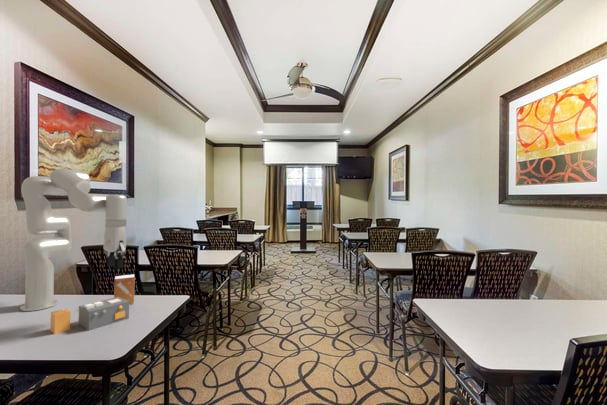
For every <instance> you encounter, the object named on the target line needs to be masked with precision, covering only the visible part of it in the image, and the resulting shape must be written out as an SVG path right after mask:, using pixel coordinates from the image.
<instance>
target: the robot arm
mask: <svg viewBox="0 0 607 405" xmlns="http://www.w3.org/2000/svg"><path fill="white" fill-rule="evenodd" d="M20 187H21V188H20V189H21V196H22V198H23V201H24V204H25V205H24V206H25V217H26V220H25V221H26V229H27V231H28V233H29V234H30V235H34V236H41V235H54V236H45V237H37V238H31V239H29V240H27V241H26V242H25V243H24V245H23V247H22V252H23V256H24V260H25V292H24V294H25V295H24V304H22V305H21V306H20V307H19V310H20V311H21V312H33V311H40V310H41V311H42V310H45V309H48V308H49V309H50V308H53V307H55V306H56V305H58V302H59V301H58V299H54V296H55V295H54V292H55V285H54V283H55V266H54V263H52V261H51V260H50V259H49V258H52V257H59V256H65V255H68V254H69V253H70V252H71V251H72V248H73V236H72V223H71V219H70V218H69V217H68V216H67V215H65V214H62V213H52V205H51V202H50V201H49V200H48V199H47V198H46V197H45V196H64V197H65V196H67V197H68V198H67V199H68V201H69V203H70V204H71V205H72V206H74V207H75V208H77V210H80V211H82V212H87V213H93V212H95V213H102V212H103V213H104V228H105V229H104V234H103V246H102V247H103V248H102V249H103V250H104V251H105V252H106V257H107V259H106V261H107V262H106V266H107V267H110V268H111V267H113V269H114V270H115V269H122V268H124V258H125V253H126V248H127V236H126V235H127V234H126V228H127V220H128V219H127V216H128V210H127V209H128V197H127V196H126V195H124V194H108V193H107V194H106V193H105V194H103V193H90V191H91V178H90V175H89V174H88V173H87V172H85V171H83V170H78V169H69V168H57V169H54V170H52V171H51V172H50V174H49V176H44V175H43V176H42V175H35V176H33V175H32V176H29V177H26V178H25V179H24V180H23V182H22V184H21V186H20Z"/></svg>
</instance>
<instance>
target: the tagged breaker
mask: <svg viewBox="0 0 607 405" xmlns="http://www.w3.org/2000/svg"><path fill="white" fill-rule="evenodd" d="M120 301H122V300H120V299H114V300H110V301H107V303H110V304H113V303H117V302H120Z"/></svg>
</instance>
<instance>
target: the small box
mask: <svg viewBox="0 0 607 405" xmlns="http://www.w3.org/2000/svg"><path fill="white" fill-rule="evenodd" d="M135 280H136V278H135V274H125V275H124V274H123V275H118V276H117V275H114V286H113V287H114V288H113V289H114V291H113V295H114V296H113V298H115V297H120V298H122V299H125V300H127V301H129V305H134V304H135V284H136V283H135V282H136V281H135Z"/></svg>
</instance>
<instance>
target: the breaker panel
mask: <svg viewBox="0 0 607 405" xmlns="http://www.w3.org/2000/svg"><path fill="white" fill-rule="evenodd" d="M114 299H120V300H122V301H120V302H117V303H113V304H110V303H107V301H110V300H114ZM129 318H130V304H129V301H127V300H125V299H122V298H120V297H115V298H114V297H112V298H111V297H110V298H108V299H103V300H100V301H95V302H92V303H91V302H90V303H87V304H83V305H80V306H78V325H80V326H81V327H83V328H84V329H86V330H88V331H92V330H94V329H98V328H101V327H104V326H108V325H110V324H114V323H118V322H120V321H124V320H127V319H129Z"/></svg>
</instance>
